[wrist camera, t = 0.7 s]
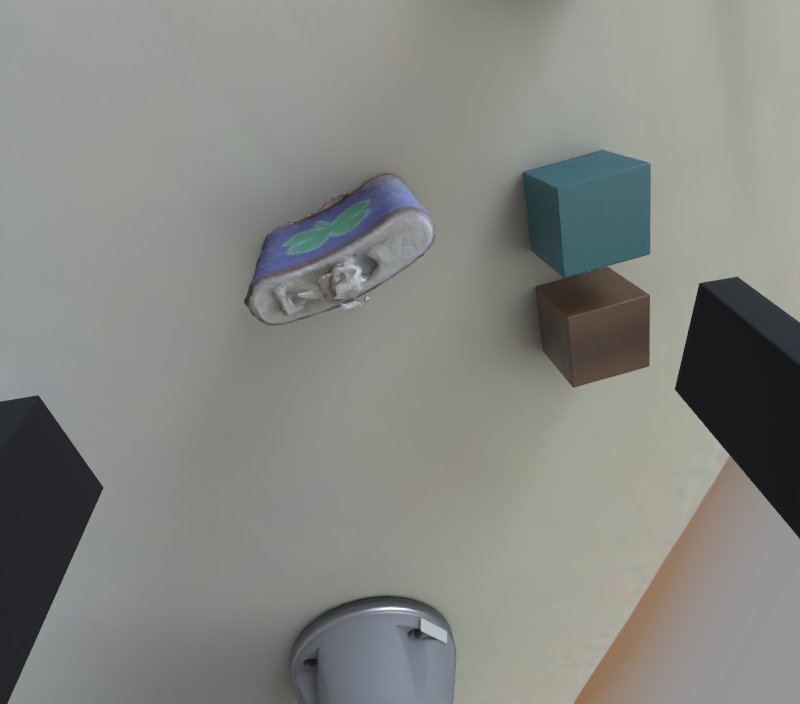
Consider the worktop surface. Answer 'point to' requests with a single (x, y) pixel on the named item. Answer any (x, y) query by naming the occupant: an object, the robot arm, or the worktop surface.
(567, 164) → the block
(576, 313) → the block
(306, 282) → the flask
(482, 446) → the worktop surface
